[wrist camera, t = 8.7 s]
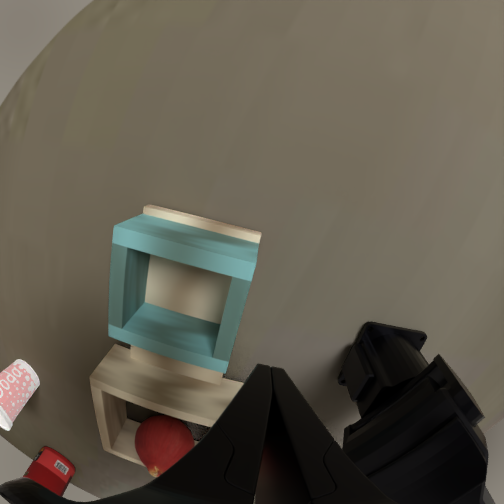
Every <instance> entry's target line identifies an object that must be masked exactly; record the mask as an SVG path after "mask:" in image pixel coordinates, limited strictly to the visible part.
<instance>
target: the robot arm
mask: <svg viewBox="0 0 504 504" xmlns="http://www.w3.org/2000/svg"><path fill="white" fill-rule="evenodd" d="M370 327H372V328H371V329H370V330H368V329H369V328H370ZM422 336H423V337H422ZM421 337H422V338H421ZM420 338H421V339H420ZM426 339H427V335H426V334H425V332H422V331H417V330H411V329H406V328H401V327H396V326H391V325H386V324H381V323H376V322H368V323H366V324H365V326H364V328H363V330H362V332H361V334H360V336H359V338H358V340H357V342H356V344H355V345H353V347H352V349H351V351H350V353H349V355H348V357H347V359H346V361H345V362H344V364H343V366H342V371H341V373H340V375H339V377H338V383H339V385H343V386H347V387H348V390H349V394H350V397H351V399H352V401H353V402H356V403H357V406H358V409H359V413H360V416H361V419H360V420H359V421H357V422H356V423H354V424H353V425H349V426H348V427H346V428H345V429H344V438H343V448H342V449H341V447H340V446H339V445H338V443H337V442H336V441H334V438H333V437H332V436H331V434H330V433H329V432H328V430H327V429H326V427H325V426H324V425H323V423H322V422H321V421H320V419H319V418H318V417H317V415H316V414H315V412H314V411H313V410H312V408H311V407H310V406H309V404H308V403H307V401H306V400H305V399H304V397H303V396H302V394H301V393H300V392H299V390H298V389H297V387H296V386H295V385H294V383H293V382H292V380H291V379H290V377H289V376H288V375H287V373H286V372H285V370H284V369H282V368H278V367H271V368H270V366H268V365H263V364H257V365H256V367H255V368H254V370H253V371H252V373H251V374H250V375H249V377H248V378H247V380H246V381H245V382H244V384H243V385H242V387H241V388H240V389H239V391H238V392H237V394H236V395H235V396H234V398H233V399H232V401H231V402H230V403H229V405H228V406H227V407H226V409H225V410H224V411H223V413H222V414H221V415H220V417H219V418H218V419H217V421H216V422H215V423H214V424H213V426H212V427H211V428H210V429H209V431H208V432H207V433H206V434H205V435H204V437H203V438H202V439H201V440H200V441H199V442H198V443H197V444H196V445H195V446H194V447H193V448H192V449H191V450H190V451H189V452H188V453H187V454H185V455H184V456H183V457H182V458H181V459H179V460H178V461H177V462H176V463H175V464H173V465H172V466H171V467H170V468H169V469H167V470H166V471H165V472H164V473H162V474H161V475H160V476H158V477H157V478H156V479H154V480H153V481H151V482H150V483H148V484H146V485H144V486H142V487H140V488H137V489H134V490H131V491H127V492H124V493H121V494H118V495H114V496H111V497H107V498H103V499H100V500H96V501H91V502H76V501H72V500H68V499H66V498H63V497H61V496H59V495H57V494H56V493H54V492H52V491H51V490H49V489H47V488H46V487H44V486H42V485H41V484H39V483H37V482H35V481H34V480H32V479H29V478H26V477H21V478H18V479H15V480H12V481H8V482H5V483H4V484H2V485H0V495H1V496H2V497H3V498H5V499H6V500H7V501H8V502H9V503H10V504H253V502H254V496H255V504H495V502H494V500H493V499H492V497H491V495H490V493H489V491H488V490H487V488H486V486H485V482H486V474H487V465H488V449H487V443H486V438H485V436H484V434H483V433H482V431H481V429H480V428H479V426H478V425H477V424H478V423H479V422H480V421H481V420H482V419H484V418H485V417H484V415H483V413H482V411H481V410H480V408H479V406H478V404H477V403H476V401H475V399H474V398H473V396H472V395H471V393H470V392H469V391H468V389H467V388H466V386H465V385H464V384H463V382H462V381H461V380H460V378H459V377H458V376H457V375H456V374H455V372H454V371H453V370H452V369H451V367H450V366H449V365H448V364H447V363H446V362H445V360H444V359H443V358H442V357H441V356H440V355H439V354H438V355H437V356H436V357H435V358H434V359H433V360H434V361H432V362H431V363H430V364H428V362H427V361H426V359H425V358H424V357H423V355H422V354H421V352H420V350H421V348H422V346H423V345H424V343H425V341H426ZM343 379H345V380H343Z"/></svg>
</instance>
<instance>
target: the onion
mask: <svg viewBox="0 0 504 504" xmlns="http://www.w3.org/2000/svg"><path fill="white" fill-rule="evenodd" d="M194 446H195V442H194V439H193V436H192V434H191V431H190V430H189V429H188V428H187V427H186V425H185V424H184V423H183V422H181V421H180V420H179V419H178V418H175V417H172V416H169V415H158V416H152V417H150V418H148V419H146V420H145V421H143V422H142V423H141V424H140V426H139V427H138V429H137V431H136V435H135V449H136V452H137V454H138V456H139V458H140V460H141V462H142V463H143V464H144V465H145V466H146V467H147V469H148V471H149V473H150V474H151V475H152V476H154V477H158V476H160V475H161V474H162V473H164V472H165V471H166V470H167V469H169V468H170V467H171V466H172V465H173V464H175V463H176V462H177V461H178V460H179V459H181V458H182V457H183V456H184V455H185V454H187V453H188V452H189V451H190V450H191V449H192V448H193V447H194Z"/></svg>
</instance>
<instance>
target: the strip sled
mask: <svg viewBox="0 0 504 504" xmlns="http://www.w3.org/2000/svg"><path fill="white" fill-rule="evenodd" d="M260 238H261V232H257V231H253V230H250V229H246V228H242V227H238V226H234V225H230V224H226V223H222V222H219V221H215V220H211V219H207V218H203V217H199V216H195V215H191V214H187V213H183V212H179V211H175V210H171V209H166V208H162V207H158V206H154V205H147V206H144V210H143V214H141V215H138V216H136V217H134V218H131V219H129V220H126V221H124V222H122V223H119V224H117V225H114V231H113V241H112V252H111V265H110V281H109V336H110V337H112V338H115V339H117V340H120V341H123V342H125V343H128V344H131V348H130V349H128V348H125V347H122V346H120V345H117V344H114V346H113V347H112V348H111V349H110V351H109V352H108V353H107V355H106V356H105V357H104V358H103V360H102V361H101V362H100V363H99V365H98V366H97V367H96V369H95V370H94V371H93V373H92V374H91V375H90V376H89V378H90V385H91V391H92V397H93V403H94V409H95V414H96V419H97V424H98V428H99V433H100V437H101V441H102V445H103V449H104V450H105V451H107V452H110V453H112V454H114V455H117V456H119V457H121V458H124V459H126V460H129V461H132V462H134V463H137V464H140V465H142V466H145V465H144V464H143V463H142V462H141V460H140V458H139V456H138V454H137V452H136V449H135V435H136V431H137V429H138V427H139V426H140V424H141V423H138V422H136V421H133V420H130V419H128V418H127V411H126V400H127V401H129V402H132V403H134V404H137V405H140V406H142V407H145V408H148V409H151V410H154V411H157V412H160V413H163V414H166V415H169V416H172V417H175V418H179V419H182V420H186V421H189V422H193V423H196V424H200V425H204V426H208V427H212V426H213V424H214V423H215V422H216V421H217V419H218V418H219V417H220V415H221V414H222V413H223V411H224V410H225V409H226V407H227V406H228V405H229V403H230V402H231V401H232V399H233V398H234V396H235V395H236V394H237V392H238V391H239V389H240V388H241V387H242V385H243V384H244V383H242V382H238V381H233V380H229V379H225V378H222V376H223V373H226V370H227V366H228V363H229V359H230V356H231V352H232V349H233V345H234V342H235V338H236V334H237V331H238V327H239V324H240V320H241V317H242V313H243V309H244V306H245V302H246V299H247V295H248V292H249V288H250V284H251V281H252V277H253V273H254V270H255V266H256V261H257V254H258V246H259V241H260ZM194 442H195V445H196V444H197V443H198V442H199V441H195V440H194ZM145 467H146V466H145Z"/></svg>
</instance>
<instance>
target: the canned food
mask: <svg viewBox="0 0 504 504" xmlns="http://www.w3.org/2000/svg"><path fill="white" fill-rule="evenodd" d="M74 473H75V467H74V466H73V464H72V463H71V462H70V461H69V460H68V459H66V458H65V457H64V456H63V455H61V454H60V453H58V452H57V451H55V450H54V449H52V448H49V447H43V448H42V449H41V450H40V451H39V453H38V454H37V456H36V457H35V459H34V460H33V462H32V463H31V465H30V467H29V468H28V469H27V471H26V472H25V474H24V476H23V477H26V478H29V479H32V480H34V481H35V482H37V483H39V484H41V485H42V486H44V487H46V488H47V489H49V490H51V491H52V492H54V493H56V494H57V495H59V496H61V497H62V496H63V494H64V492H65V490H66V488H67V486H68V484H69V482H70V480H71V479H72V477H73V475H74Z"/></svg>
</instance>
